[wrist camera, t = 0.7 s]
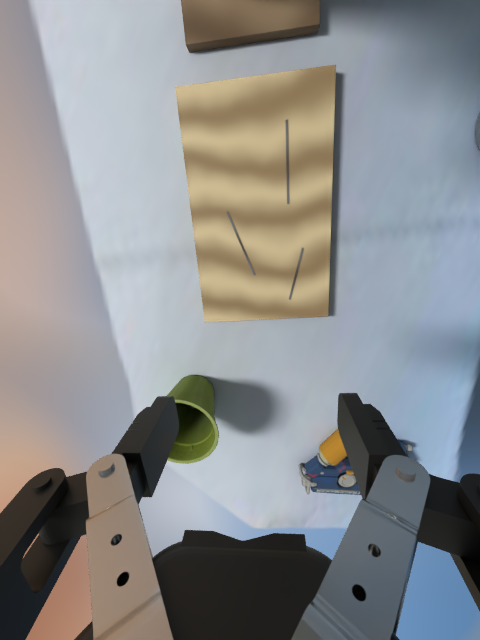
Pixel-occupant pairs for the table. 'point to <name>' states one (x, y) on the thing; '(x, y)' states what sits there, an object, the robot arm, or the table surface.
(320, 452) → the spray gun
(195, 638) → the robot arm
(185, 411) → the plant pot
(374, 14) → the table surface
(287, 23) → the shelf stand
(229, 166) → the pine board
